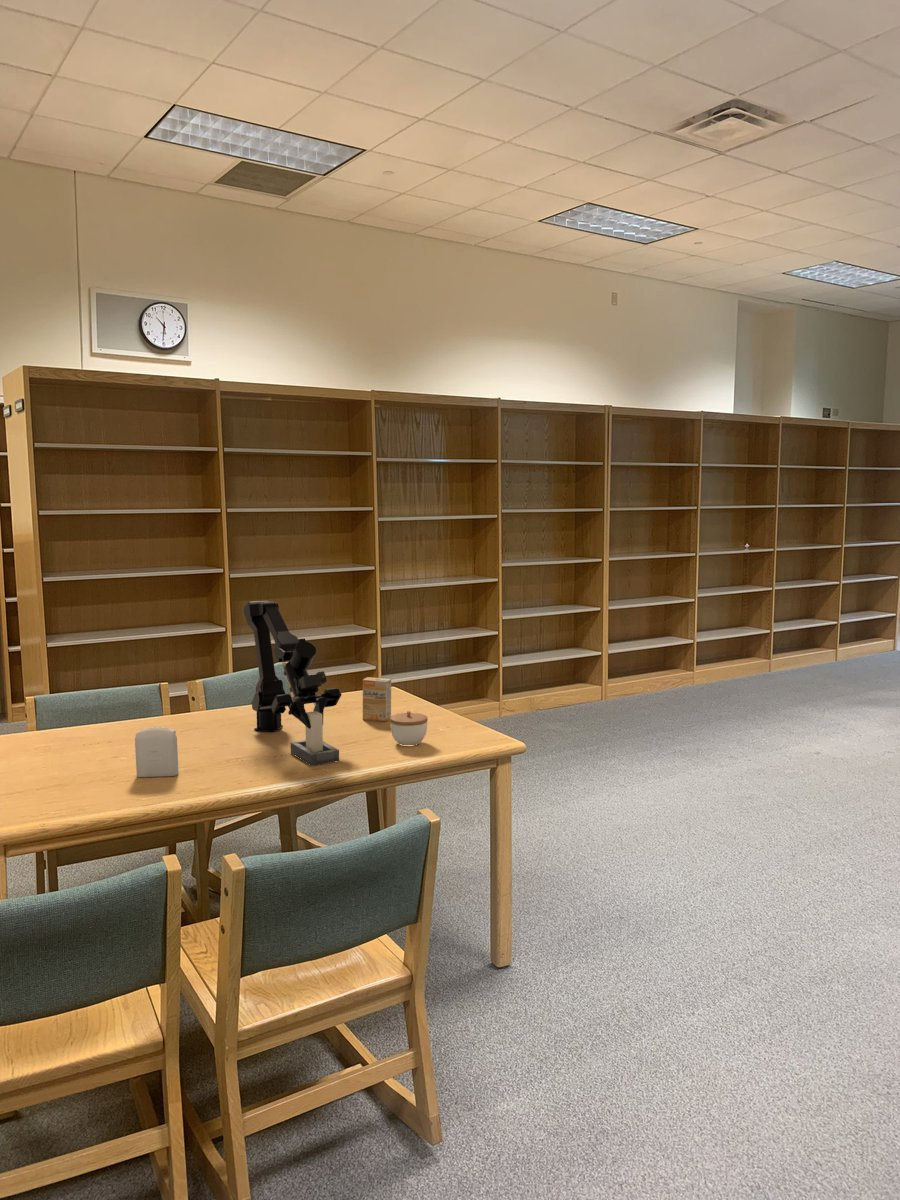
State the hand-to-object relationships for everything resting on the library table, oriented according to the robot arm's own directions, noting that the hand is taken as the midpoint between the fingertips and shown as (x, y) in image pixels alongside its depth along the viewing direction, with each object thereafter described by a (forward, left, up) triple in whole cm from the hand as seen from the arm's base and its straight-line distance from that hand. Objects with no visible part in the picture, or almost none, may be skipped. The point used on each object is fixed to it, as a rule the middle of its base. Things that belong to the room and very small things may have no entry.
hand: (316, 726), depth 233 cm
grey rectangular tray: (-1, +1, -9) cm, 9 cm away
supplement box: (0, +44, -9) cm, 45 cm away
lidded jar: (+19, +21, -9) cm, 30 cm away
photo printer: (-32, -25, -9) cm, 42 cm away
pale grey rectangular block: (-1, +1, -7) cm, 7 cm away
